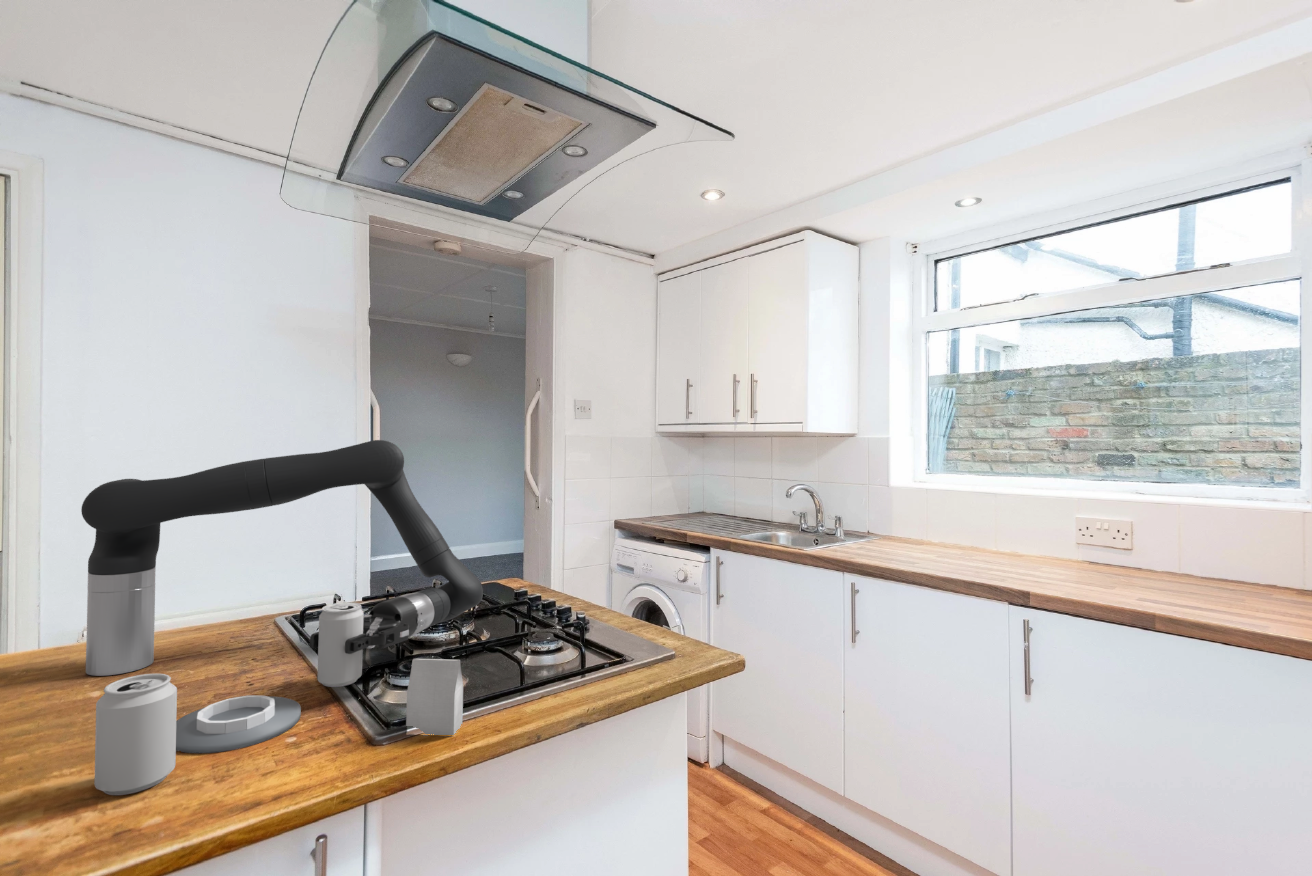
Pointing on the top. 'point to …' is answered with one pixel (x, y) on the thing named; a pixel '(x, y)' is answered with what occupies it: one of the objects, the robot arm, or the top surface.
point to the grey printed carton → (435, 696)
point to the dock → (235, 723)
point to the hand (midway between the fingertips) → (329, 644)
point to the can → (135, 734)
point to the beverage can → (339, 644)
